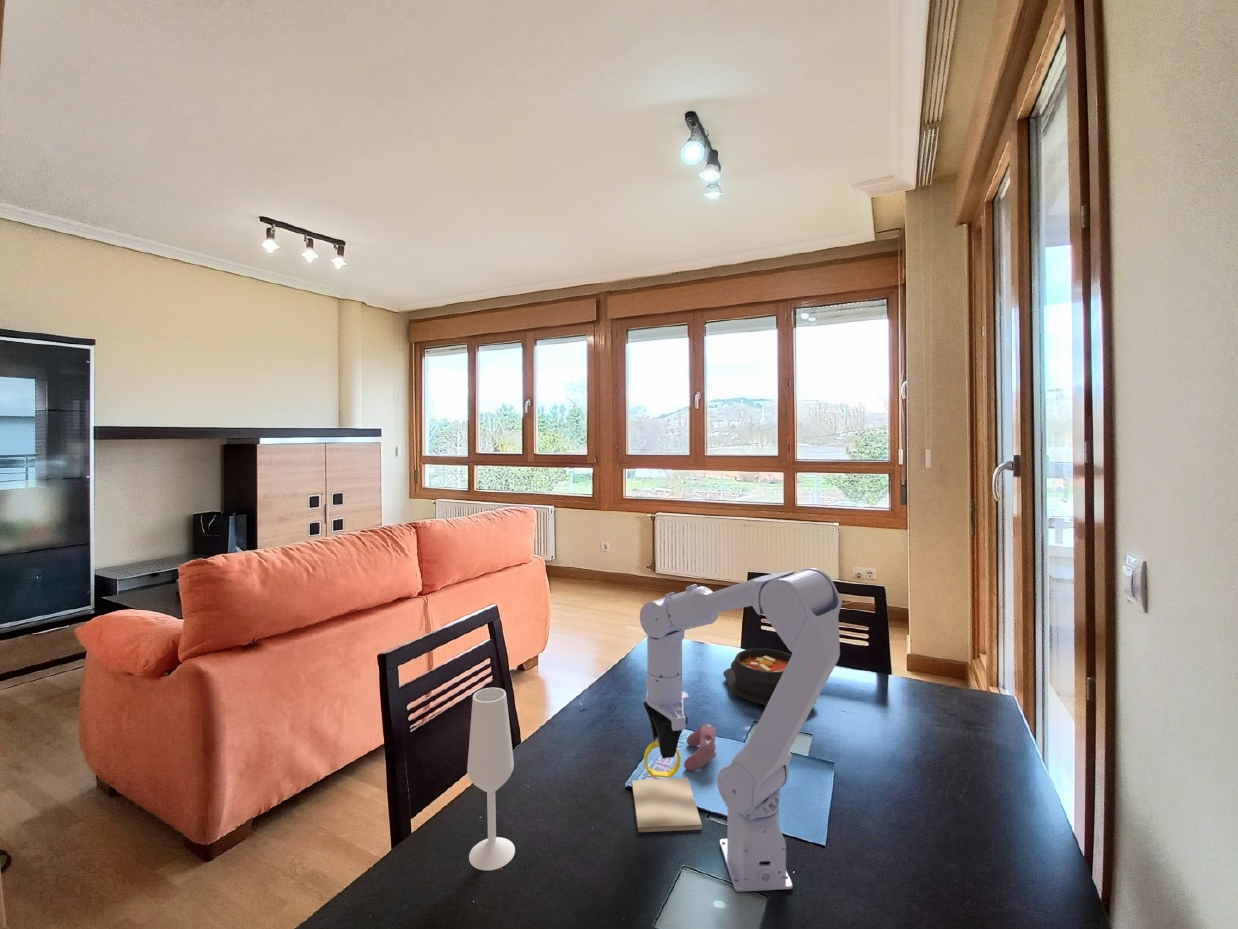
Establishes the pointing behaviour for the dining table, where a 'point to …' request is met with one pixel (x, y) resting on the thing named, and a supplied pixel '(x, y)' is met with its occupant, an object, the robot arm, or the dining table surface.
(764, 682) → the casserole
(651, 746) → the watch
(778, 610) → the robot arm
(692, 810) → the wooden board
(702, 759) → the video game controller
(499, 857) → the champagne flute
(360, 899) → the dining table surface
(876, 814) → the dining table surface
